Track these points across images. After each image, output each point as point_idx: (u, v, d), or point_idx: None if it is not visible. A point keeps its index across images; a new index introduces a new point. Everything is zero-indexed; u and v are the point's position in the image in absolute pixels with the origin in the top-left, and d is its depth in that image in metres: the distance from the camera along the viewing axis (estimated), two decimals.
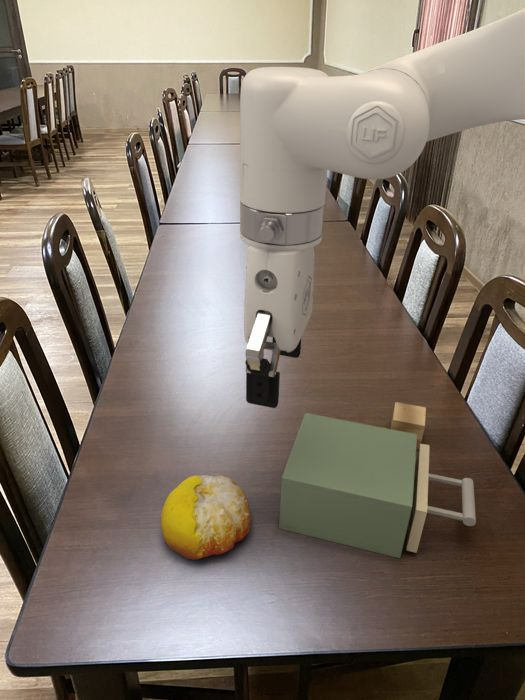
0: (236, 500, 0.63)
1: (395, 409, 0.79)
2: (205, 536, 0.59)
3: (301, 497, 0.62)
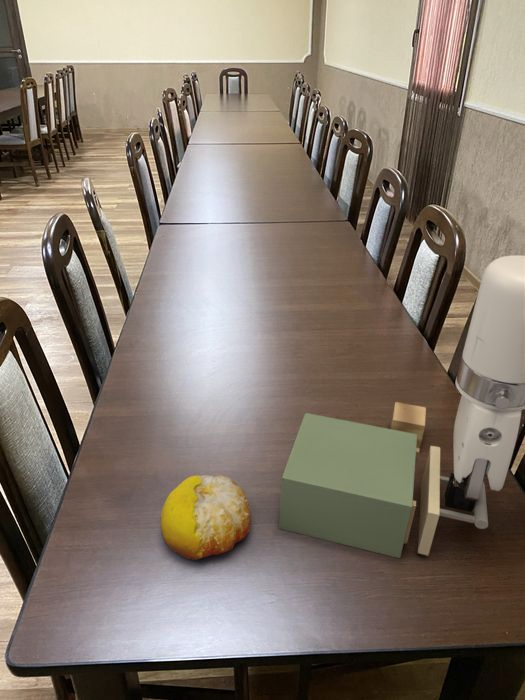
0: (236, 500, 0.63)
1: (395, 409, 0.79)
2: (205, 536, 0.59)
3: (301, 497, 0.62)
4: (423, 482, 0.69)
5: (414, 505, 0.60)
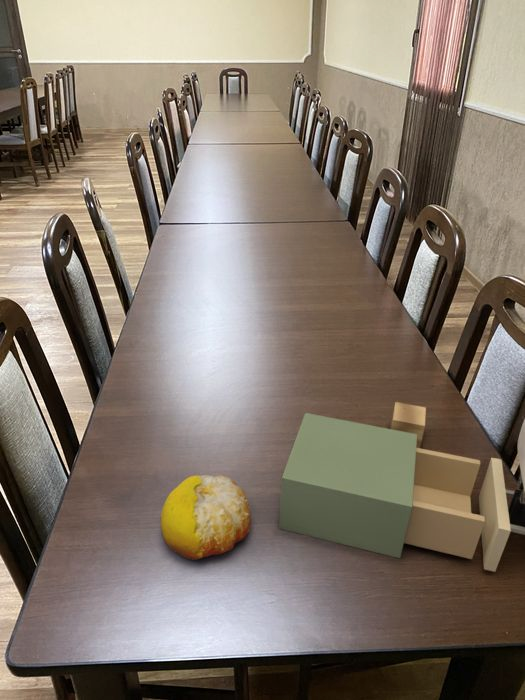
0: (236, 500, 0.63)
1: (395, 409, 0.79)
2: (205, 536, 0.59)
3: (301, 497, 0.62)
4: (483, 495, 0.67)
5: (483, 520, 0.58)
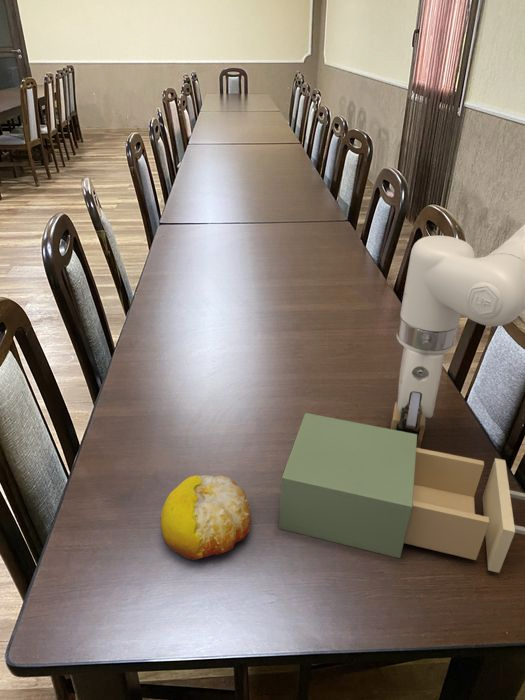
0: (236, 500, 0.63)
1: (395, 409, 0.79)
2: (205, 536, 0.59)
3: (301, 497, 0.62)
4: (486, 495, 0.67)
5: (487, 521, 0.58)
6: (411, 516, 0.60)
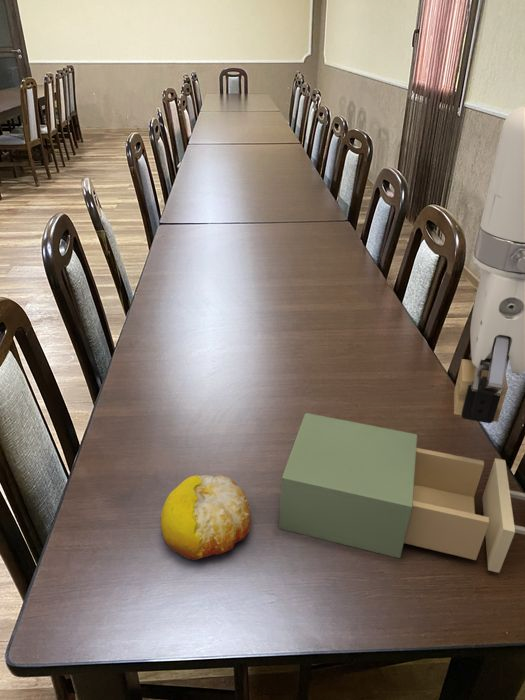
0: (236, 500, 0.63)
1: (463, 367, 0.59)
2: (205, 536, 0.59)
3: (301, 497, 0.62)
4: (486, 495, 0.67)
5: (487, 521, 0.58)
6: (411, 516, 0.60)
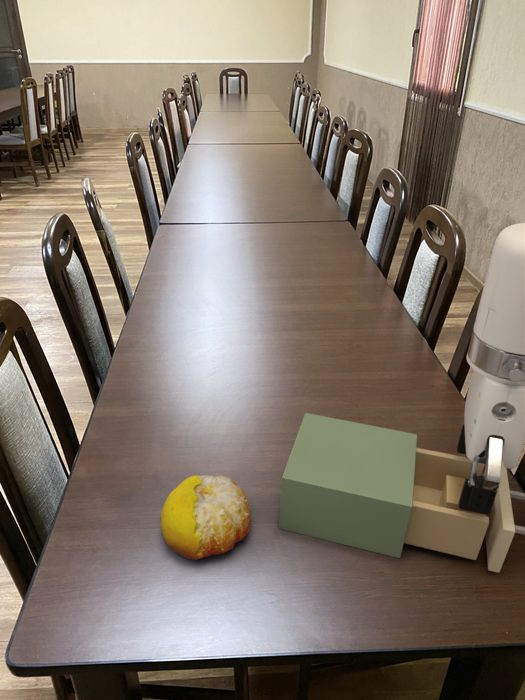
0: (236, 500, 0.63)
1: (447, 486, 0.64)
2: (205, 536, 0.59)
3: (301, 497, 0.62)
4: None
5: (487, 521, 0.58)
6: (411, 516, 0.60)
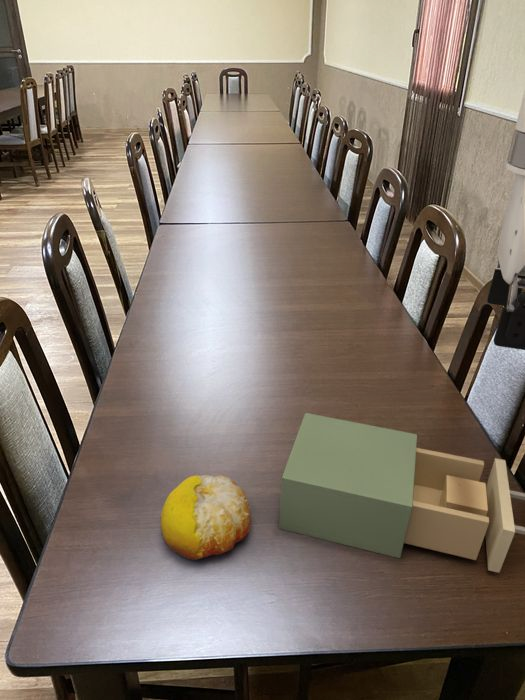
0: (236, 500, 0.63)
1: (447, 486, 0.64)
2: (205, 536, 0.59)
3: (301, 497, 0.62)
4: None
5: (487, 521, 0.58)
6: (411, 516, 0.60)
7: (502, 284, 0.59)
